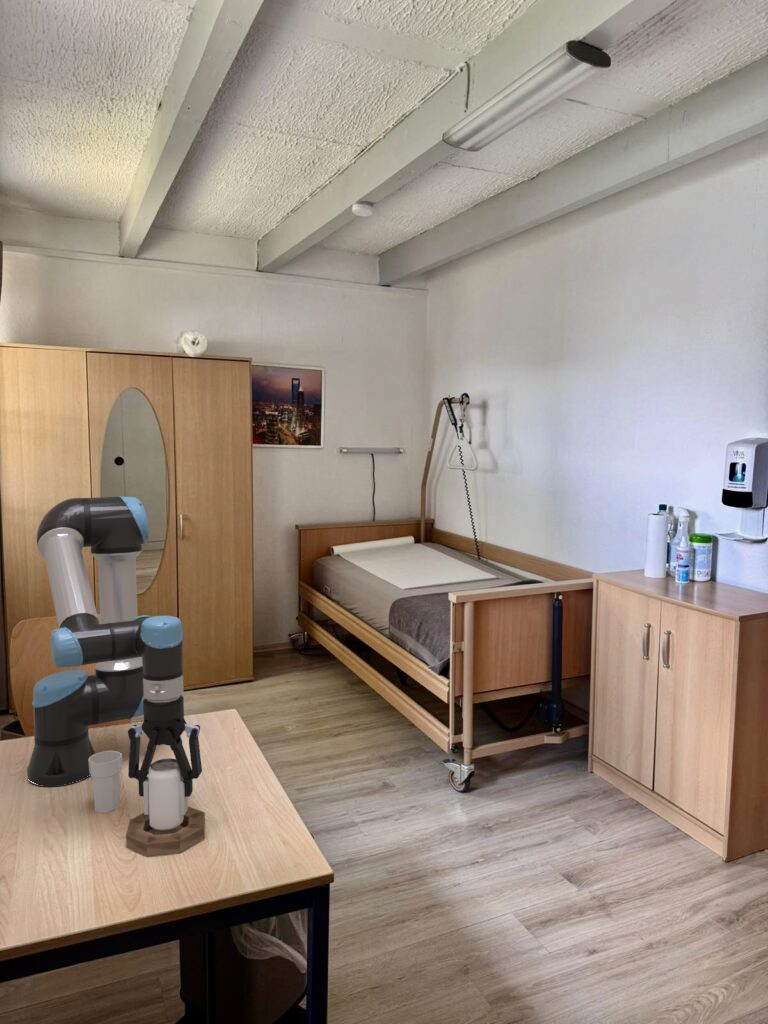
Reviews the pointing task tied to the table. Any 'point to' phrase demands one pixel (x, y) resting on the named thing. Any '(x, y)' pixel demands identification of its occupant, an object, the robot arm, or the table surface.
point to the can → (164, 795)
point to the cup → (105, 779)
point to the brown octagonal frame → (165, 835)
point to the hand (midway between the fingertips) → (166, 811)
